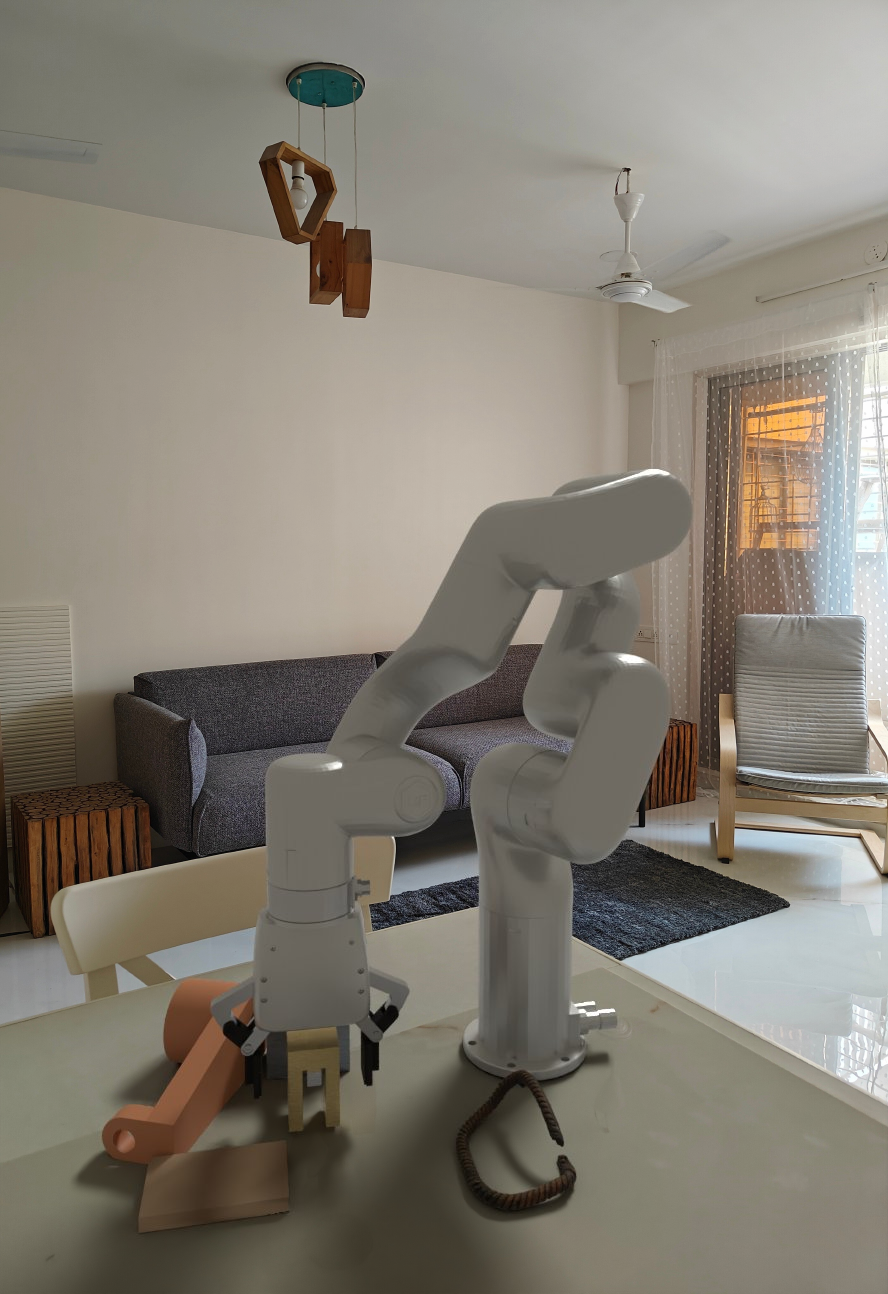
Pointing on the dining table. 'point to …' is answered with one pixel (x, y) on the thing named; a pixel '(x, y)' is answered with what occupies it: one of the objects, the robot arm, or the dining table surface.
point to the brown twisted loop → (555, 1133)
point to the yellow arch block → (311, 1054)
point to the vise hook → (279, 1070)
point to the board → (214, 1186)
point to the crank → (184, 1078)
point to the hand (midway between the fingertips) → (312, 1083)
